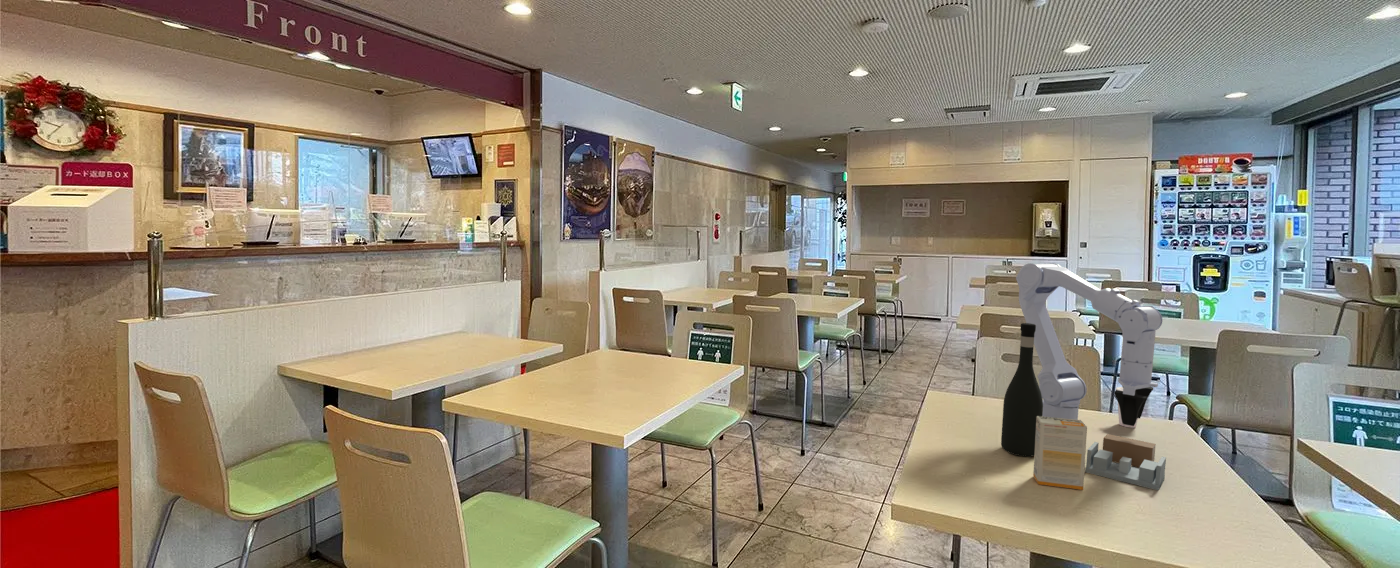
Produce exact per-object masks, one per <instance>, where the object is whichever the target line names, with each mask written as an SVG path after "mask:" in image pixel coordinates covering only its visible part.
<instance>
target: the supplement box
mask: <svg viewBox="0 0 1400 568" xmlns="http://www.w3.org/2000/svg"><path fill="white" fill-rule="evenodd" d="M1087 435H1088V426H1087V425H1086V423H1084V421H1082V420H1081V419H1078V420H1075V419H1064V418H1054V417H1043V416H1037V419H1036V436H1035V454H1034V456H1033V471H1032V473H1033V478H1034V479H1035V481H1036V484H1037V485H1038V486H1039V485H1040V486H1048V487H1055V488H1057V487H1058V488H1064V489H1072V490H1079V491H1083V490H1084V483H1085V482H1084V481H1085V469H1086V455H1087Z"/></svg>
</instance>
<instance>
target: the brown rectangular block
mask: <svg viewBox="0 0 1400 568" xmlns="http://www.w3.org/2000/svg"><path fill="white" fill-rule="evenodd" d="M1156 446H1157V445H1156V443H1153V442H1148V441H1144V440H1138V439H1134V438H1129V437H1124V436H1118V435H1114V434H1111V433H1109V434H1108V433H1107V434H1106V435H1105V436H1104V437H1103V441H1102V450H1105V451H1109V452H1113V456H1112V462H1114V463H1118V464H1120V459H1121V458H1122V457H1127V458H1131V459H1132V460H1131V467H1135V468H1139V467H1140V466H1141V464H1142V462H1143V461H1144V459H1145V460H1149V461H1154V462H1155V454H1156Z"/></svg>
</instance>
